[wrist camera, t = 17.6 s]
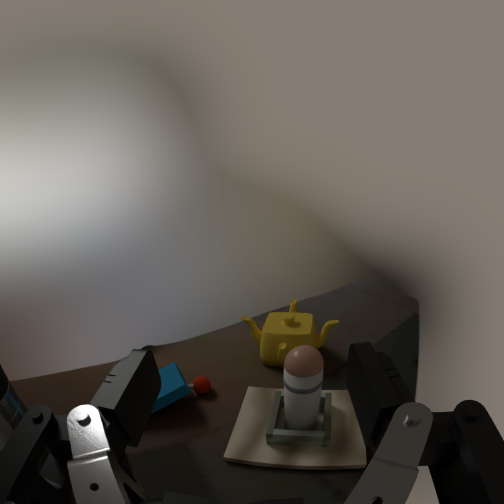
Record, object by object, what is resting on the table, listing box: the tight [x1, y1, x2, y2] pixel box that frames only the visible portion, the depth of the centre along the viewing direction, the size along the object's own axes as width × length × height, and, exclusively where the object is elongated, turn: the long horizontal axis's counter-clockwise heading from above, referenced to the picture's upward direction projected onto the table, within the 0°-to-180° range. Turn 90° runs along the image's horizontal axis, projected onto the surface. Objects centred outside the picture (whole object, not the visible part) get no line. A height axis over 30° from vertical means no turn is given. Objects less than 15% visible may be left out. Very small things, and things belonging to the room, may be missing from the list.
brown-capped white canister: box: [283, 345, 324, 431], centre depth 34 cm, size 5×5×16 cm
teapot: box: [240, 299, 339, 368], centre depth 55 cm, size 15×14×10 cm
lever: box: [151, 362, 211, 414], centre depth 43 cm, size 7×7×18 cm
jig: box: [224, 387, 367, 470], centre depth 36 cm, size 20×16×4 cm
